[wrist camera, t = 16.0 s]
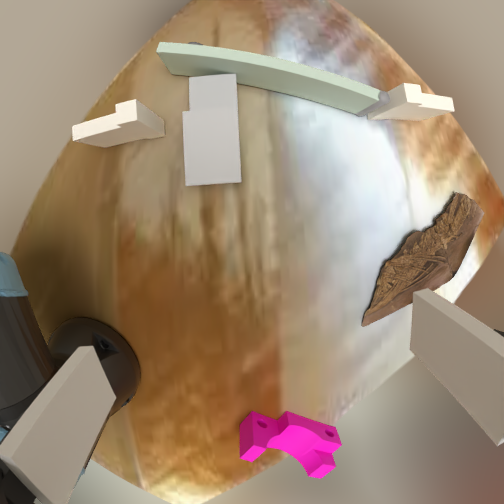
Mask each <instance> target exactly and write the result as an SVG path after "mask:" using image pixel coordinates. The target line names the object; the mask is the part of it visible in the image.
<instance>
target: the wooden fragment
mask: <svg viewBox="0 0 504 504" xmlns="http://www.w3.org/2000/svg"><path fill="white" fill-rule="evenodd" d="M483 215H484V212H483V210H482V209H481V208H480V207H479V206H478V205H477V203H476V202H475V201H474V200H472V199H469V198H468V196H467V195H465V194H463V195H461V194H459V193H457V192H456V194H455V197H453V200H452V203H450V204H449V205H448V207H447V209H446V211H445V212H444V214H441V216H440V217H438V218H437V219H436V220H435V225H434V226H432V227H431V228H429V229H427V230H426V231H425V232H420V231H417V232H415V233H413V234H412V235H410V236H409V237H408V238H407V240H406V242H405V243H404V245H403V246H402V248H401V249H400V251H399V252H398V253H397V255H395V256H394V257H393V259H391V260H388V261H386V263H385V265H384V267H383V268H382V269H381V272H380V276H379V278H378V281H377V288H376V291H375V294H374V298H373V301H372V303H371V307H370V309H368V310H367V311H366V313H365V316H364V319H363V322H362V325H361V326H362V327H364V326H367V325H369V324H371V323H373V322H375V321H377V320H379V319H381V318H383V317H385V316H387V315H389V314H391V313H393V312H395V311H397V310H399V309H401V308H403V307H405V306H406V305H409V304H411V303H413V292H416V291H420V290H423V289H427V288H428V289H430V290H432V291H434V290H436V289H437V288H439V287H440V286H441V285H443V284H445V283H447V282H448V281H450V280H451V279H452V278H453V277H454V276H455V274H456V273H457V271H458V269H459V267H460V265H461V263H462V261H463V259H464V257H465V255H466V253H467V250H468V248H469V246H470V244H471V242H472V240H473V237H474V235H475V232H476V231H477V228H478V225H479V223H480V221H481V219H482V217H483Z"/></svg>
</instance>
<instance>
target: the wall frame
mask: <svg viewBox="0 0 504 504" xmlns="http://www.w3.org/2000/svg"><path fill="white" fill-rule="evenodd" d="M387 93H388V94H389V96H390V101H389V103H387V104H385V105H383V106H381V107H379V108H377V109H375V110H373V111H371V112H370V113H368V114H367V116H368V120H384V119H397V120H411V121H422V120H425V119H429V118H432V117H436V116H439V115H443V114H446V113H450V112H454V106H453V101H452V98H449V97H443V96H437V95H431V94H425V93H421V88H420V85H415V84H408V83H403V84H401V85H399V86H397V87H396V88H394V89H392V90H390V91H389V92H387ZM72 131H73V141H75V142H80V143H85V144H90V145H95V146H99V147H104V148H106V147H110V146H114V145H119V144H123V143H127V142H131V141H136V140H141V139H145V138H148V139H153V138H158V137H163V136H165V127H164V120H163V119H162V118H160V117H159V116H158V115H156V114H155V113H154V112H152V111H151V110H150V109H148V108H147V107H146V106H144V105H143V104H142V103H140V102H139V101H138V100H136V99H135V100H131V101H127V102H123V103H119V104H116V113H114V114H111V115H107V116H104V117H100V118H97V119H93V120H90V121H87V122H84V123H81V124H78V125H75V126H72Z"/></svg>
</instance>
